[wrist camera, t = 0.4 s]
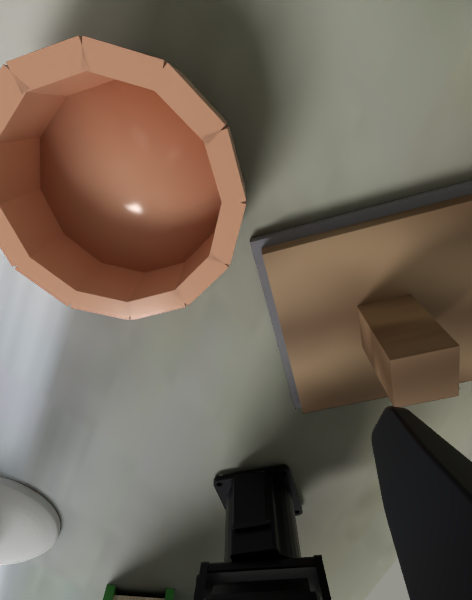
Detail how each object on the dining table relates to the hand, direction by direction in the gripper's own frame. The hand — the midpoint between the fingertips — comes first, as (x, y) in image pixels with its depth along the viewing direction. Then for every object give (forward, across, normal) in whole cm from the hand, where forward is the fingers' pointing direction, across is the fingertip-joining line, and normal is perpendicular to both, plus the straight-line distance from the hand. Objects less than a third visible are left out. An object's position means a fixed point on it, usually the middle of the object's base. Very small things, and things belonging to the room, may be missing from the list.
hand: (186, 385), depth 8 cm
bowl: (+13, +5, -1) cm, 14 cm away
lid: (+13, -11, +3) cm, 17 cm away
